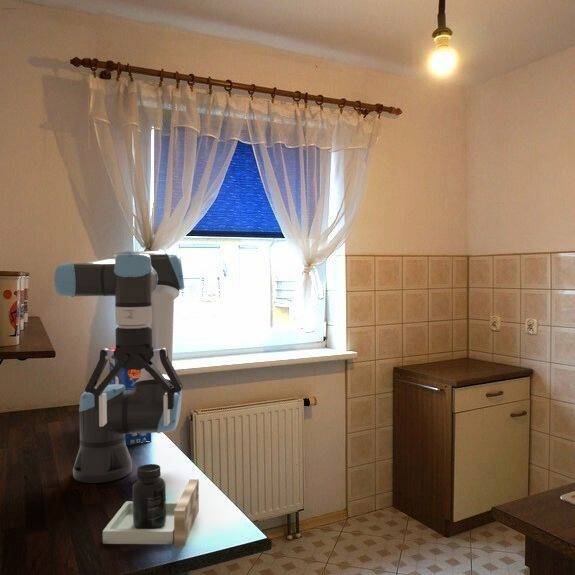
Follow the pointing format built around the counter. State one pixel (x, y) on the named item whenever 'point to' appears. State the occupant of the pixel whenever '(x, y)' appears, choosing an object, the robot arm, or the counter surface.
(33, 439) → the counter surface
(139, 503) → the supplement bottle
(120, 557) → the counter surface
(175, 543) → the backstop wall
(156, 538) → the sliding tray
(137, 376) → the pasta box
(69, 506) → the counter surface
